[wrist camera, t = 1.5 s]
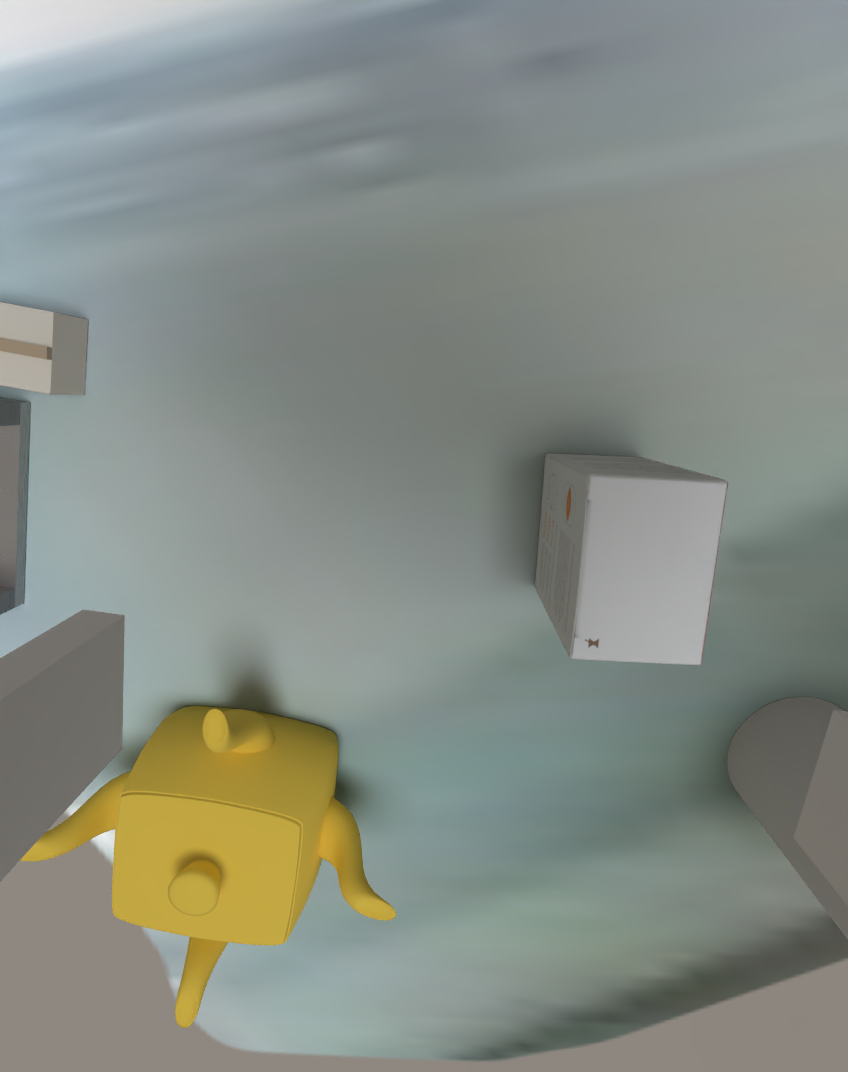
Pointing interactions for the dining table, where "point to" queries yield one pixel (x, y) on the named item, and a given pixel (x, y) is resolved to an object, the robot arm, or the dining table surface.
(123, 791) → the teapot
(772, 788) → the cup
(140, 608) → the dining table surface
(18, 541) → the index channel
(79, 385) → the door edge
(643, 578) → the small box
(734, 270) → the dining table surface
